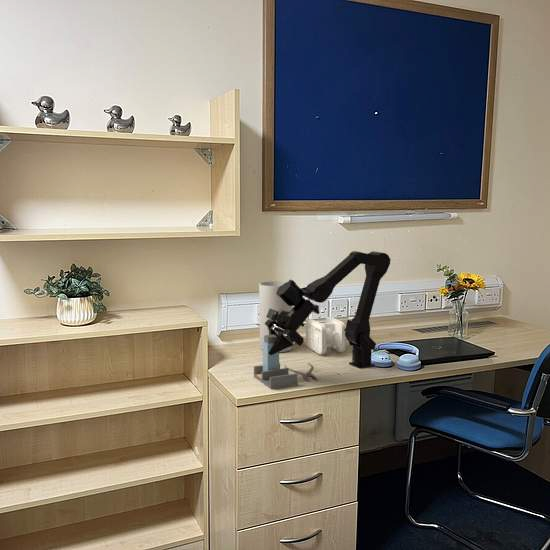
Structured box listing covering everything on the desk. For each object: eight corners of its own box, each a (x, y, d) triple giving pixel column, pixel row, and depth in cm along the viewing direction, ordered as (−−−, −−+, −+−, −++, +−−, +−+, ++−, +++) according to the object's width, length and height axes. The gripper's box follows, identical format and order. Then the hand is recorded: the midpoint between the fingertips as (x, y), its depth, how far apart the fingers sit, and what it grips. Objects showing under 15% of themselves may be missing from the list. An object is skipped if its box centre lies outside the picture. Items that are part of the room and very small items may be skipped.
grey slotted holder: (279, 373, 203) (279, 362, 202) (297, 385, 190) (297, 374, 190) (253, 376, 199) (253, 366, 199) (270, 389, 187) (270, 377, 186)
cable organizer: (346, 354, 225) (347, 323, 223) (320, 357, 221) (320, 325, 220) (329, 345, 239) (329, 315, 237) (304, 347, 235) (304, 317, 234)
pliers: (306, 361, 215) (335, 376, 197) (306, 363, 215) (335, 379, 197) (281, 364, 211) (308, 380, 193) (281, 367, 211) (308, 383, 193)
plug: (274, 370, 200) (273, 334, 198) (279, 373, 196) (279, 336, 195) (262, 371, 198) (262, 335, 197) (267, 375, 195) (267, 337, 193)
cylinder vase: (294, 352, 228) (294, 285, 224) (261, 353, 227) (260, 286, 223) (290, 344, 240) (290, 280, 237) (258, 345, 239) (258, 281, 236)
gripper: (269, 294, 204) (239, 330, 201) (294, 304, 187) (261, 343, 184) (291, 316, 208) (261, 351, 206) (317, 327, 192) (285, 366, 189)
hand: (266, 352), depth 196 cm, fingers open, 4 cm apart
